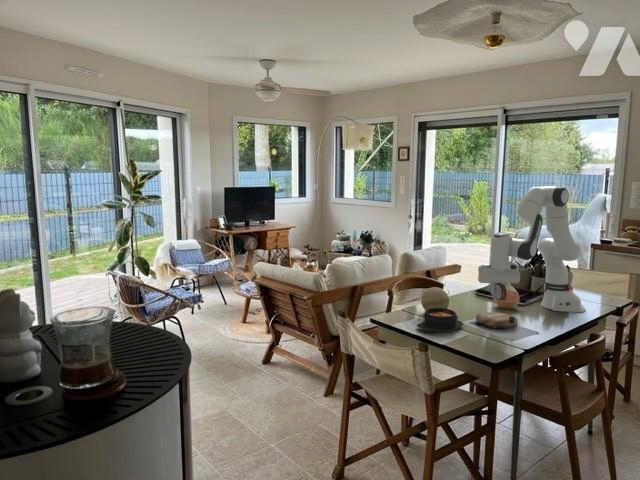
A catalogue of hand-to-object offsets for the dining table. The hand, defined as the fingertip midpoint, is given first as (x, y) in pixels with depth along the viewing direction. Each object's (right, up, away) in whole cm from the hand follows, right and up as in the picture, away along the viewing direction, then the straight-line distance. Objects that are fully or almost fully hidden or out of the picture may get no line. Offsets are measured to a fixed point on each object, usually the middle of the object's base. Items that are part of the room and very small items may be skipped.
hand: (498, 291), depth 245 cm
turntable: (0, -15, +2) cm, 16 cm away
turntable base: (0, -17, +3) cm, 17 cm away
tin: (0, -4, +1) cm, 4 cm away
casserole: (-30, -18, -3) cm, 36 cm away
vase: (+15, -13, +30) cm, 36 cm away
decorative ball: (-28, -15, +19) cm, 37 cm away
